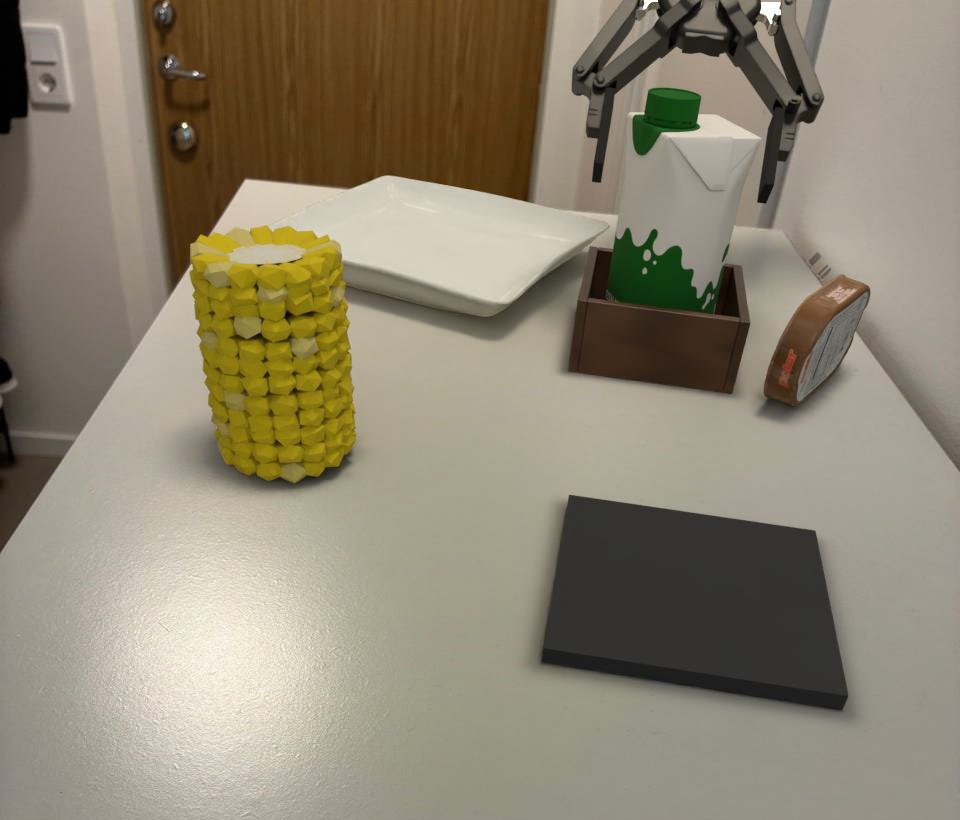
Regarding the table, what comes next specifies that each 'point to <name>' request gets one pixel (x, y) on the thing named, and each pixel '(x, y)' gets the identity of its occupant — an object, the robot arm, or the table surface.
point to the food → (275, 349)
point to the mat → (694, 602)
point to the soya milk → (677, 203)
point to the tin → (816, 340)
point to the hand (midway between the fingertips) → (680, 184)
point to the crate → (659, 334)
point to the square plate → (444, 242)
